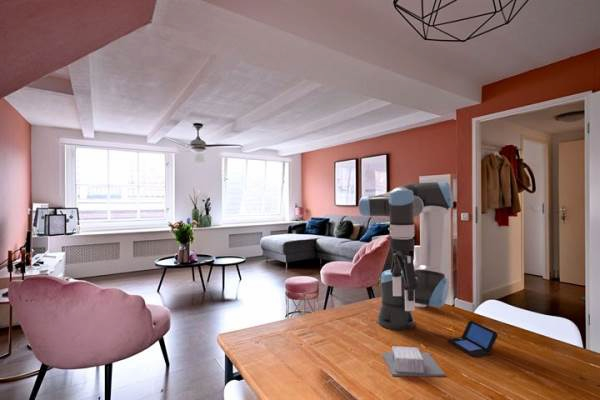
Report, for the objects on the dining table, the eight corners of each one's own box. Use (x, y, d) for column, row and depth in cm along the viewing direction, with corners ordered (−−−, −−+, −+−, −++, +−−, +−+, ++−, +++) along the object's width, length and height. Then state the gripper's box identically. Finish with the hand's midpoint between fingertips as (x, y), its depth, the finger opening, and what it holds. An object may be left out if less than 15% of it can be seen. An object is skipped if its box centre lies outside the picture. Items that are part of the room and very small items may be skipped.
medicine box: (395, 371, 95) (424, 374, 94) (395, 357, 95) (424, 359, 94) (391, 358, 103) (418, 360, 101) (391, 345, 103) (418, 347, 101)
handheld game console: (446, 342, 116) (446, 322, 116) (470, 338, 119) (469, 319, 118) (474, 358, 104) (473, 337, 104) (499, 354, 106) (498, 332, 106)
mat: (382, 354, 107) (382, 352, 107) (428, 354, 106) (428, 352, 106) (392, 375, 94) (392, 373, 94) (444, 376, 93) (444, 374, 93)
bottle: (430, 305, 154) (429, 246, 154) (420, 308, 150) (419, 247, 150) (416, 301, 161) (415, 244, 161) (406, 303, 157) (406, 245, 157)
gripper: (381, 232, 111) (382, 290, 112) (401, 243, 86) (403, 318, 87) (402, 232, 111) (403, 290, 111) (428, 243, 86) (429, 318, 86)
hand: (403, 302), depth 99 cm, fingers open, 13 cm apart
